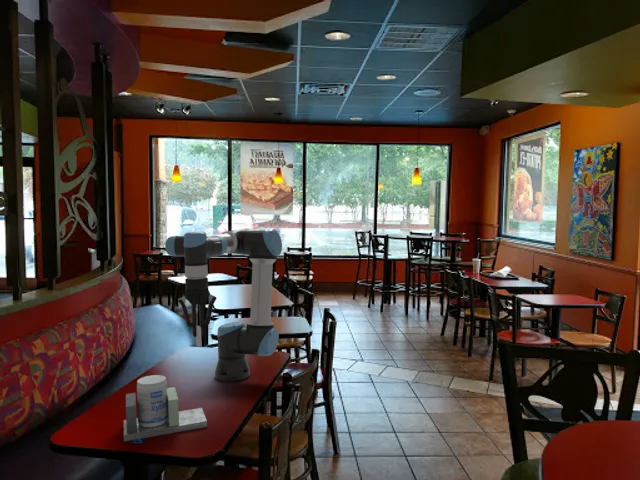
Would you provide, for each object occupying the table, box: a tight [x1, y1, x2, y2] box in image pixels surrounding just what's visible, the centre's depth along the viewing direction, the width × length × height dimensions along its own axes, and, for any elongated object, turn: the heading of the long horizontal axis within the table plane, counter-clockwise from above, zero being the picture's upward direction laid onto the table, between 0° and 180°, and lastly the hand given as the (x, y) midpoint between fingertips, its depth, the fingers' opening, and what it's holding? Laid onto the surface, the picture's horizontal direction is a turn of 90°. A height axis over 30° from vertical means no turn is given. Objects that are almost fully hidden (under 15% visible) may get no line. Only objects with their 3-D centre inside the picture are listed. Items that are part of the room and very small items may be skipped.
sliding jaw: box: [167, 386, 180, 426], centre depth 167 cm, size 3×12×9 cm, turn 21°
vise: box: [123, 392, 208, 442], centre depth 166 cm, size 26×12×11 cm, turn 111°
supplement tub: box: [136, 374, 168, 427], centre depth 165 cm, size 10×10×15 cm
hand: (198, 345), depth 169 cm, fingers closed
